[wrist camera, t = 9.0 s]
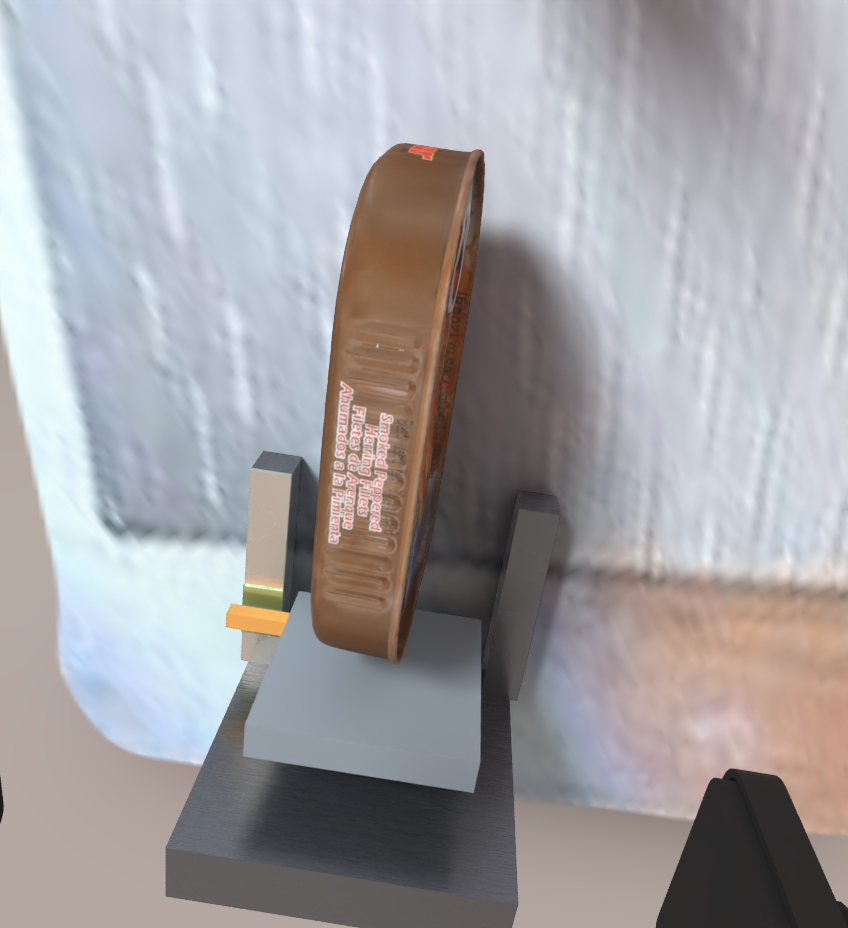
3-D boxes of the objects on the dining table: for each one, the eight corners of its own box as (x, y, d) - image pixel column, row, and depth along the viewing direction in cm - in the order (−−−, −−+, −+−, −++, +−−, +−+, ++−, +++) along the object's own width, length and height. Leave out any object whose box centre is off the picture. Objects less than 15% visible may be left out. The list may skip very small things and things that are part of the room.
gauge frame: (556, 496, 28) (592, 678, 18) (506, 714, 32) (515, 952, 22) (262, 450, 28) (153, 609, 19) (250, 673, 32) (154, 894, 23)
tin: (426, 573, 29) (405, 731, 22) (344, 560, 29) (293, 713, 22) (494, 148, 23) (499, 157, 16) (391, 133, 23) (345, 133, 16)
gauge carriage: (481, 619, 28) (480, 761, 22) (476, 646, 29) (473, 793, 22) (239, 581, 29) (168, 712, 22) (238, 608, 29) (168, 744, 23)
